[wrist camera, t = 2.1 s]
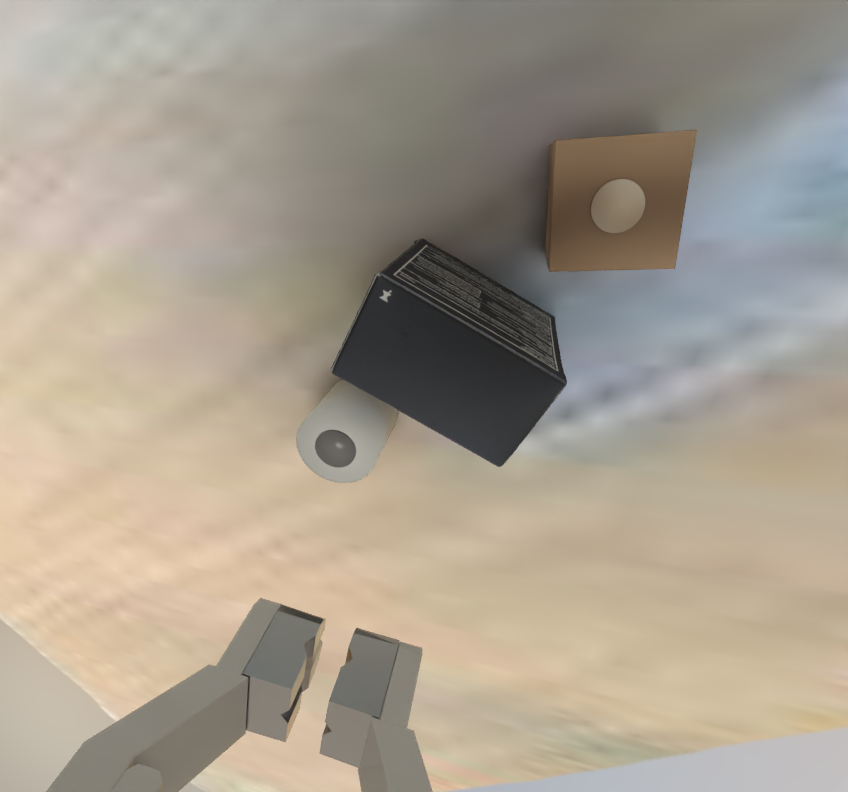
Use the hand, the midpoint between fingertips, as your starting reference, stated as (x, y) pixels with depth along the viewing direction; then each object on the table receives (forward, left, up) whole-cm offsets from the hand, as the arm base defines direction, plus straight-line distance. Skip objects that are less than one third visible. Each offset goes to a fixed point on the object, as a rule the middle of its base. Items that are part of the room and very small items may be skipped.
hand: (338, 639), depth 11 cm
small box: (0, 0, -25) cm, 25 cm away
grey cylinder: (+9, -6, -25) cm, 27 cm away
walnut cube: (-9, +6, -25) cm, 27 cm away
